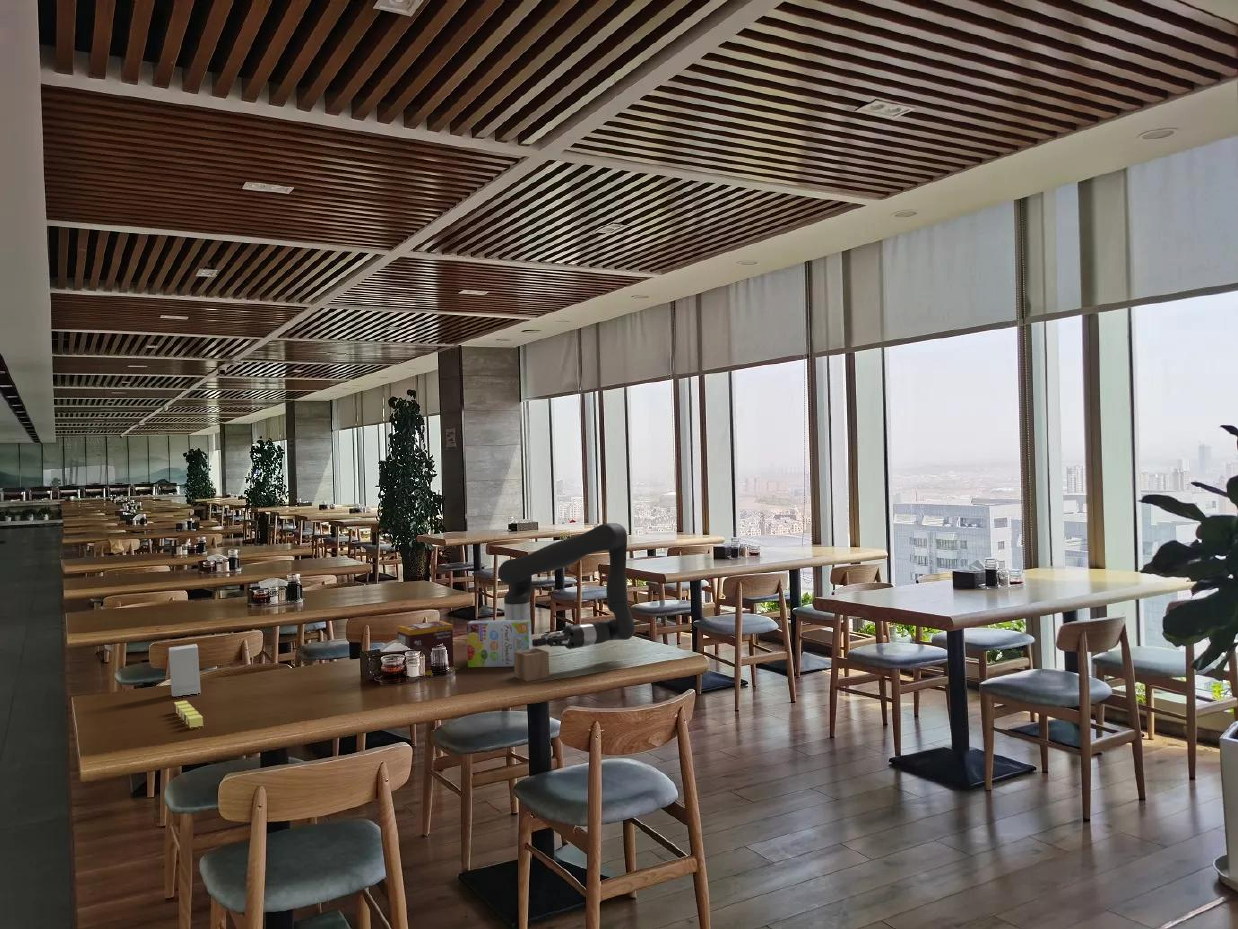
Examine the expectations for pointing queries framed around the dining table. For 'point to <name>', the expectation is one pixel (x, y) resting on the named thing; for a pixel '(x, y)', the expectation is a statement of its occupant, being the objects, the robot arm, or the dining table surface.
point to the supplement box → (428, 639)
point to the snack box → (497, 642)
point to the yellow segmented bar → (188, 714)
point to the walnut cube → (531, 664)
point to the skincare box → (184, 670)
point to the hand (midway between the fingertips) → (533, 643)
